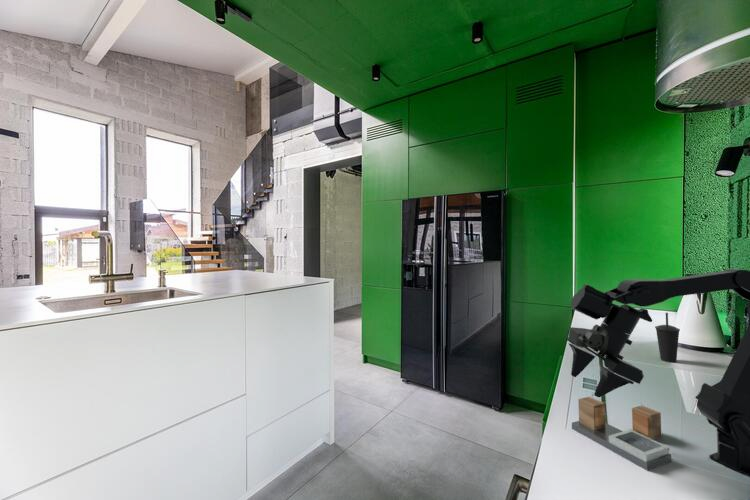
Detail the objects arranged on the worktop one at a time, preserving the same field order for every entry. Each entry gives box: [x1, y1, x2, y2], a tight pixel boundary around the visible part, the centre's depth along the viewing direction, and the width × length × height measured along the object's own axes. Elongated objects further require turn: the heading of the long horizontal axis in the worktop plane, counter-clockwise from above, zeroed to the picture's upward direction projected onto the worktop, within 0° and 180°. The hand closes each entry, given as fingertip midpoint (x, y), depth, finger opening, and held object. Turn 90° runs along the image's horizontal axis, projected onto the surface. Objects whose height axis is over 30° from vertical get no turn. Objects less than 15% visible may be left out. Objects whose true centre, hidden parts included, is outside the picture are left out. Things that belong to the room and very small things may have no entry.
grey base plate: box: [571, 420, 672, 471], centre depth 75 cm, size 8×17×3 cm, turn 20°
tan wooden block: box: [631, 405, 662, 441], centre depth 78 cm, size 4×4×6 cm
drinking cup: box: [654, 312, 681, 363], centre depth 131 cm, size 8×8×20 cm
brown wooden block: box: [578, 396, 606, 430], centre depth 80 cm, size 4×4×6 cm
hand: (584, 385), depth 75 cm, fingers open, 9 cm apart
